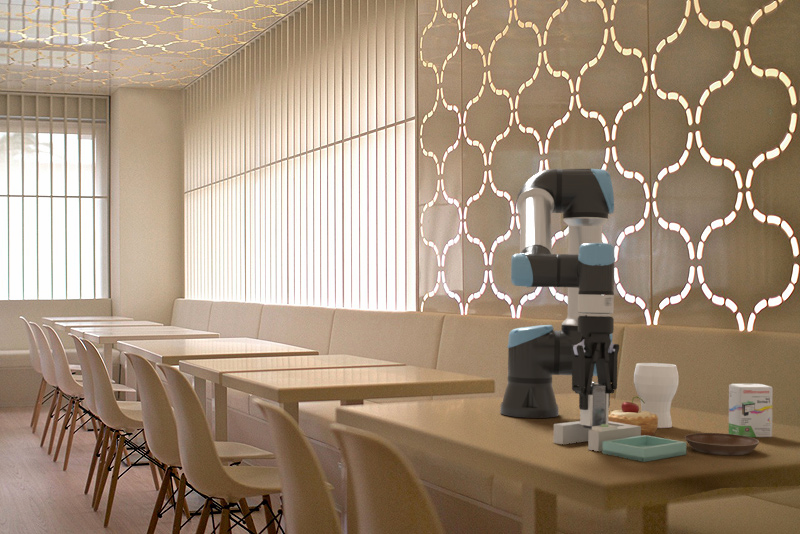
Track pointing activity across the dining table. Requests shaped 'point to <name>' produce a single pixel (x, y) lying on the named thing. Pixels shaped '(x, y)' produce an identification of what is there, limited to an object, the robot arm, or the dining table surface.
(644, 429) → the pastry
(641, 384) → the cup
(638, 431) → the white hook bar
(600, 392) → the cell
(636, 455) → the trough
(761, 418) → the ink box
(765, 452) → the dining table surface
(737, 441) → the saucer
